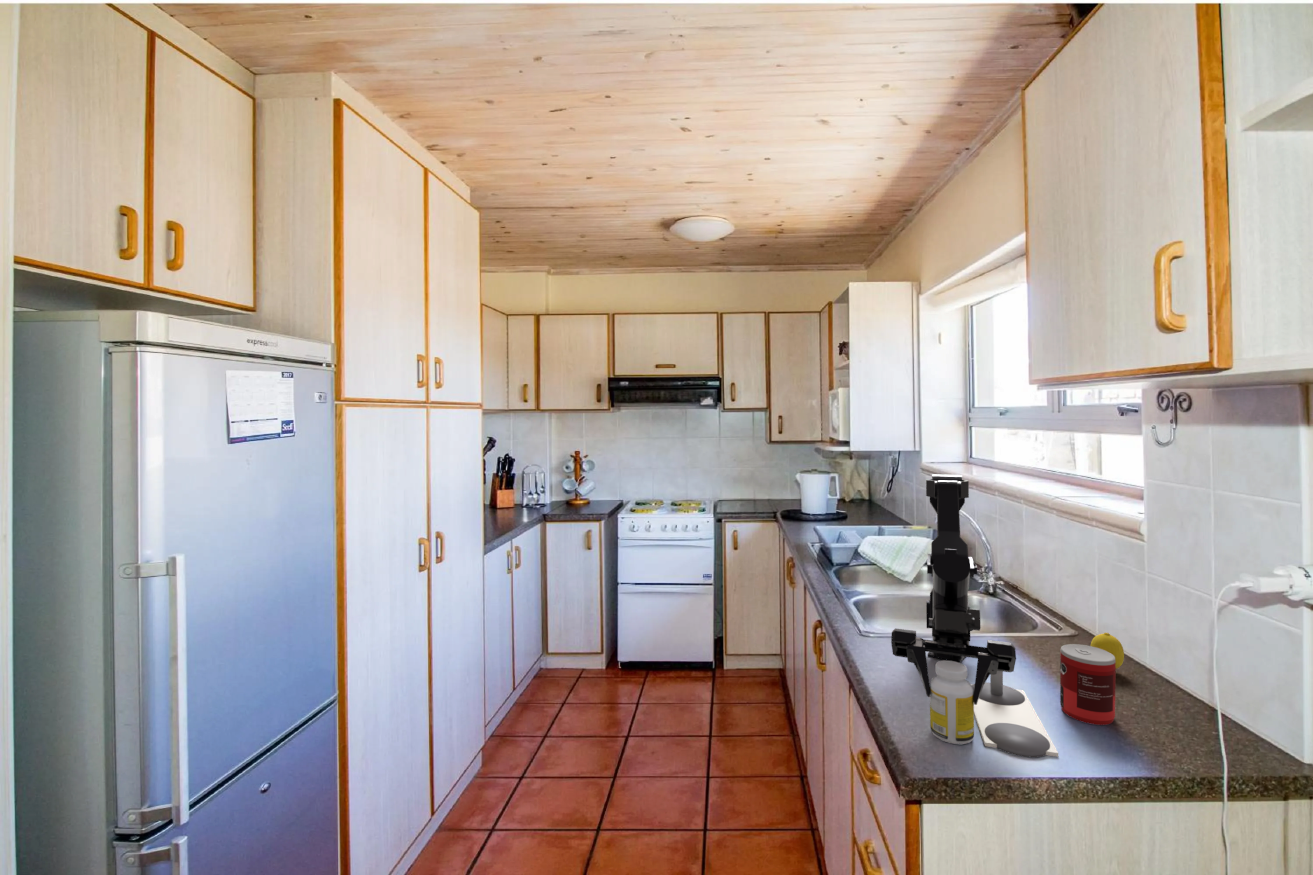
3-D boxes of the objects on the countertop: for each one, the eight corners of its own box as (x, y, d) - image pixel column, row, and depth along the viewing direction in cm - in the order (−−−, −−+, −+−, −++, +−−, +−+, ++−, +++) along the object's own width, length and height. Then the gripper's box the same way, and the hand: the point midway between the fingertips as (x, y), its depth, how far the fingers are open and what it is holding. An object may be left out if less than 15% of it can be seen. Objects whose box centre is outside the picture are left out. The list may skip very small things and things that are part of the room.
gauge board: (963, 682, 117) (963, 649, 117) (1021, 689, 114) (1021, 655, 114) (986, 750, 94) (986, 708, 94) (1061, 762, 90) (1061, 718, 90)
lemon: (1095, 675, 119) (1095, 636, 119) (1085, 664, 125) (1085, 626, 124) (1128, 679, 118) (1129, 638, 117) (1117, 667, 123) (1117, 629, 123)
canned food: (1078, 700, 110) (1078, 640, 109) (1126, 720, 102) (1126, 657, 102) (1049, 708, 107) (1049, 647, 106) (1096, 729, 99) (1096, 664, 99)
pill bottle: (980, 735, 98) (979, 665, 98) (965, 751, 94) (965, 678, 94) (939, 721, 103) (939, 654, 103) (923, 735, 99) (923, 666, 98)
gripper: (891, 583, 105) (886, 669, 96) (1014, 594, 97) (1023, 690, 88) (895, 613, 113) (891, 696, 103) (1009, 626, 105) (1016, 718, 95)
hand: (951, 699), depth 97 cm, fingers closed on pill bottle, 6 cm apart
